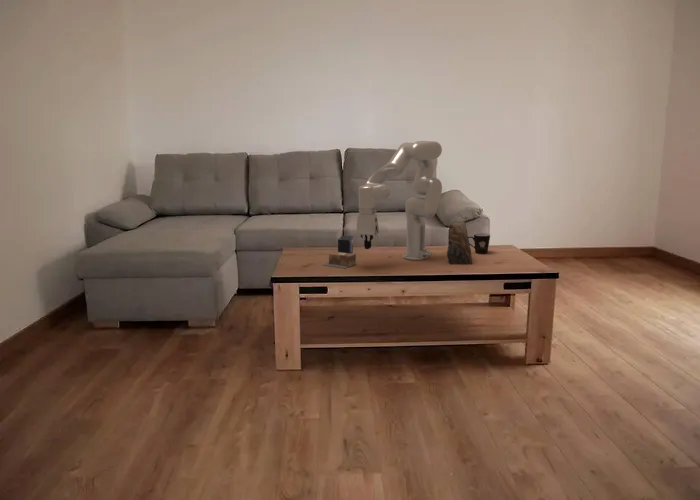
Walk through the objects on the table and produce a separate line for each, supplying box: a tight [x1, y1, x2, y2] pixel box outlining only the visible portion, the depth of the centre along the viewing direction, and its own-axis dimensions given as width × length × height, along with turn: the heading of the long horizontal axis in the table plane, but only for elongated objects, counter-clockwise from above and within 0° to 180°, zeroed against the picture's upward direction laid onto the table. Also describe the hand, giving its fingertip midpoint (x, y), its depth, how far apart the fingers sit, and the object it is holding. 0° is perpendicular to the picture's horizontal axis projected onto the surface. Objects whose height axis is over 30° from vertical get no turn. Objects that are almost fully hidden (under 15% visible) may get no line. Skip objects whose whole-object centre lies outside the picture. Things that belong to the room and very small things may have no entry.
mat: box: [322, 261, 359, 269], centre depth 294 cm, size 13×13×1 cm
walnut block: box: [328, 251, 357, 268], centre depth 293 cm, size 5×6×12 cm
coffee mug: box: [468, 232, 491, 255], centre depth 316 cm, size 12×9×10 cm
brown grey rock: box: [446, 221, 473, 265], centre depth 295 cm, size 13×13×20 cm
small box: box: [337, 235, 354, 254], centre depth 308 cm, size 11×6×10 cm, turn 168°
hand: (367, 248), depth 285 cm, fingers closed
